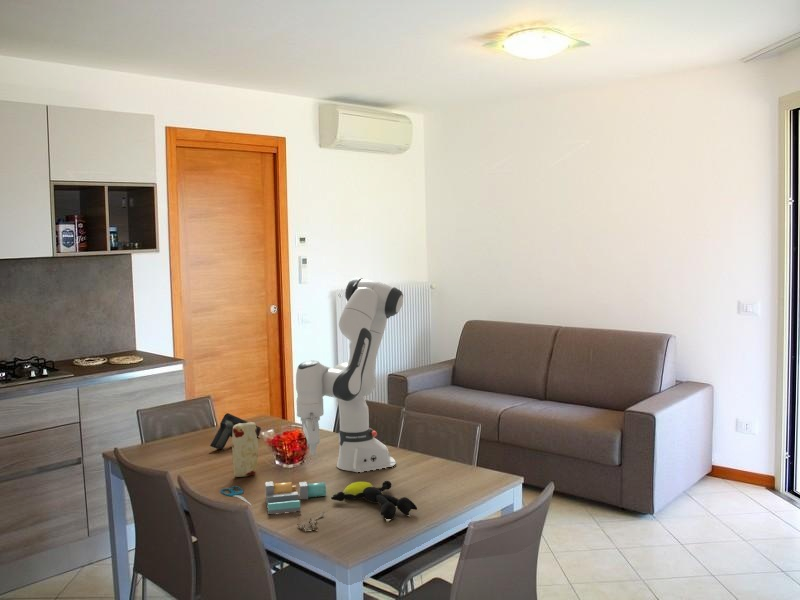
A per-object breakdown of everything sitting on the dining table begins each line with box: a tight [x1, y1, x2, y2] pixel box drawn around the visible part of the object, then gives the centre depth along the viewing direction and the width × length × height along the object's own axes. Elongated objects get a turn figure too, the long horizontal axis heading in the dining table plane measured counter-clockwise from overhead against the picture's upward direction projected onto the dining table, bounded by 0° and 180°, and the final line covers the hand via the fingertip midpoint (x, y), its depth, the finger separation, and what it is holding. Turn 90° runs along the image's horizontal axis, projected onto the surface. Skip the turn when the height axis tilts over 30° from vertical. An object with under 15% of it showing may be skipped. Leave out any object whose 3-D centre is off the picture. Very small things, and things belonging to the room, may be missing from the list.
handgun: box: [209, 413, 262, 450], centre depth 305 cm, size 2×24×15 cm, turn 148°
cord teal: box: [298, 481, 327, 500], centre depth 238 cm, size 8×4×5 cm, turn 103°
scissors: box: [220, 485, 253, 506], centre depth 240 cm, size 7×1×20 cm
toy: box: [330, 480, 418, 520], centre depth 230 cm, size 23×6×30 cm
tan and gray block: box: [264, 481, 293, 501], centre depth 235 cm, size 8×4×5 cm, turn 103°
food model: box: [231, 421, 259, 478], centre depth 261 cm, size 10×7×20 cm
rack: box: [265, 485, 301, 515], centre depth 231 cm, size 10×15×4 cm, turn 14°
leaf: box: [296, 511, 325, 532], centre depth 216 cm, size 11×15×2 cm
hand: (311, 450), depth 237 cm, fingers open, 8 cm apart
